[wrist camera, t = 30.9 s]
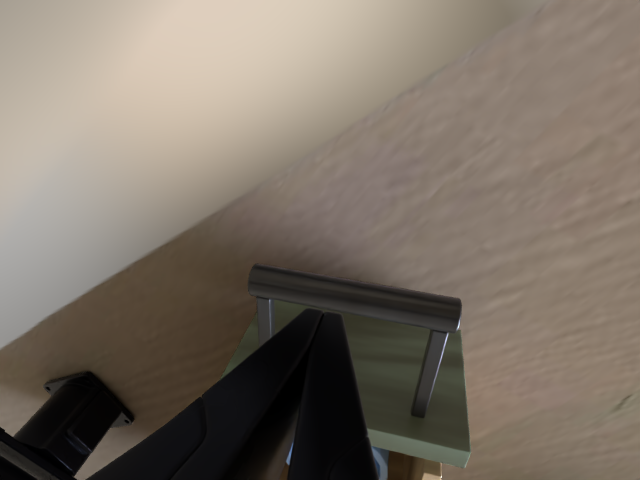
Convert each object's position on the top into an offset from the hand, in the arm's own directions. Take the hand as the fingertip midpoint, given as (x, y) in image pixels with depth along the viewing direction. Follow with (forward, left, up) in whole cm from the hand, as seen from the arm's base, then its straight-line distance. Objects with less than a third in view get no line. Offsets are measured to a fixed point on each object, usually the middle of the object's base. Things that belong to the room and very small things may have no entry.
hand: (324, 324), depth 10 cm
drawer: (-6, -10, -11) cm, 16 cm away
